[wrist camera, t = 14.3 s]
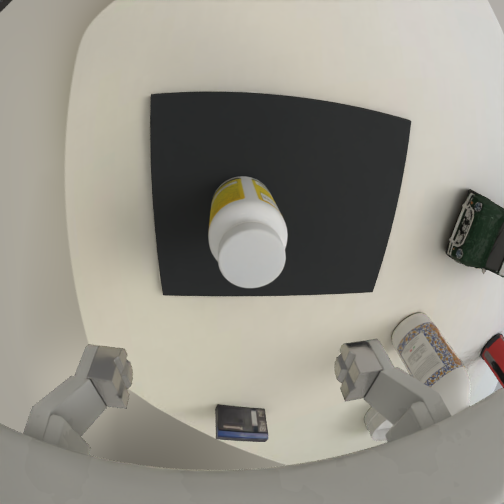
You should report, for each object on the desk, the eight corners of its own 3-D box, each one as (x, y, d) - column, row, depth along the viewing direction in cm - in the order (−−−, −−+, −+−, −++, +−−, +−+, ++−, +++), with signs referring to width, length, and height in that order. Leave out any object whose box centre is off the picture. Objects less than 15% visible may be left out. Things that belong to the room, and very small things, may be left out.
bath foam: (429, 328, 38) (489, 422, 20) (394, 351, 39) (446, 452, 21) (425, 303, 34) (498, 408, 17) (386, 328, 36) (449, 444, 18)
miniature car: (459, 183, 26) (505, 208, 19) (515, 215, 29) (548, 238, 22) (434, 248, 30) (472, 283, 23) (496, 263, 33) (525, 290, 26)
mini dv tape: (264, 408, 43) (268, 438, 37) (261, 412, 43) (265, 441, 38) (217, 404, 41) (218, 435, 36) (215, 408, 42) (216, 438, 36)
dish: (347, 416, 48) (353, 436, 44) (437, 356, 42) (449, 374, 38) (383, 430, 57) (389, 444, 53) (453, 383, 51) (461, 397, 47)
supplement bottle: (208, 229, 26) (201, 293, 17) (215, 171, 23) (209, 210, 15) (266, 235, 27) (286, 300, 18) (277, 179, 24) (307, 223, 16)
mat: (163, 292, 29) (163, 295, 29) (152, 94, 20) (150, 94, 19) (370, 289, 32) (372, 292, 31) (408, 120, 22) (411, 120, 22)
